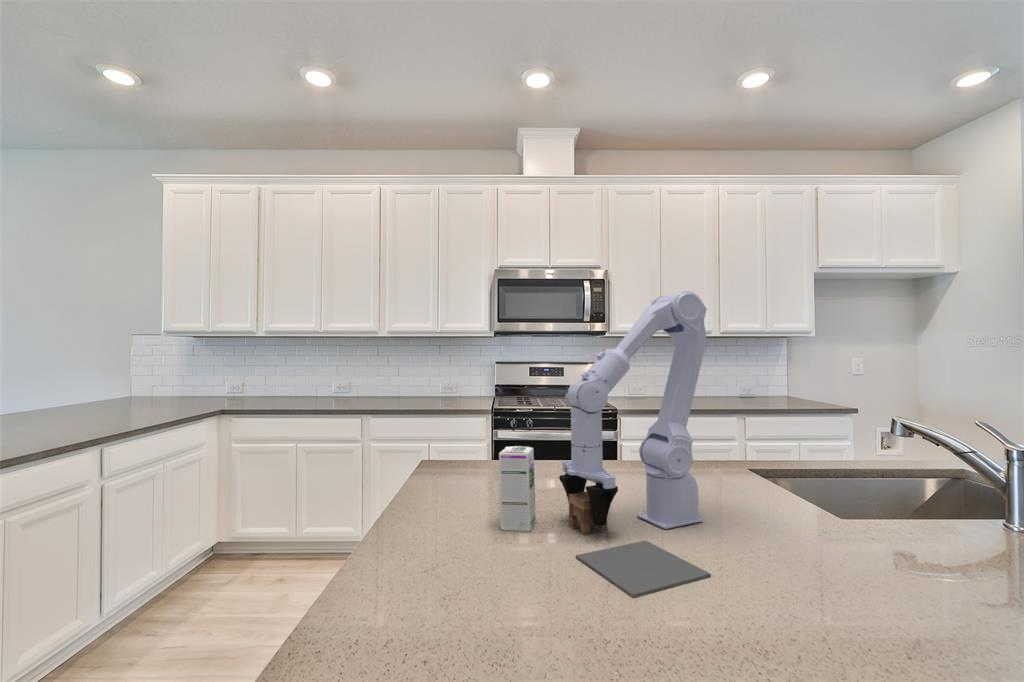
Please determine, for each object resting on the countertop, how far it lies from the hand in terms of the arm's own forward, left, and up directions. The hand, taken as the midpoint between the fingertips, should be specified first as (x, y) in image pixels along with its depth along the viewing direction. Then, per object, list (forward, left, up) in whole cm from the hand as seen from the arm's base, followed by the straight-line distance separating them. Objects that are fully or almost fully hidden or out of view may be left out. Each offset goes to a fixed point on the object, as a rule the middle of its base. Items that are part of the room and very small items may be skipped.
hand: (587, 518), depth 89 cm
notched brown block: (0, 0, -2) cm, 2 cm away
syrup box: (+11, -7, -2) cm, 13 cm away
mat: (+2, +17, -2) cm, 17 cm away
